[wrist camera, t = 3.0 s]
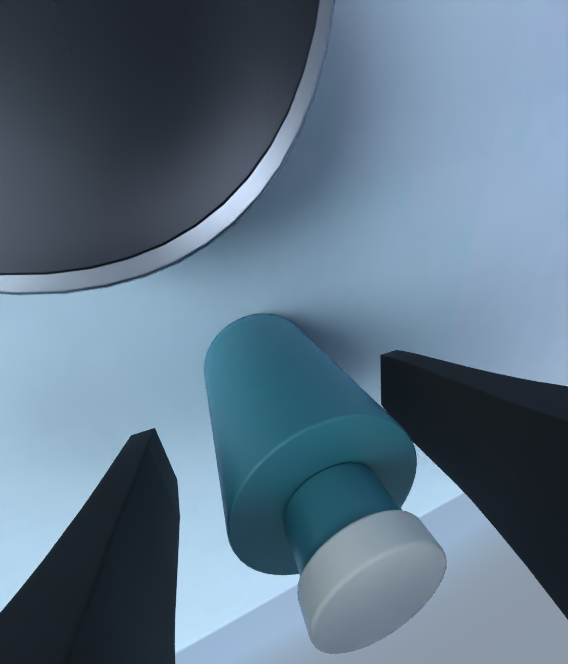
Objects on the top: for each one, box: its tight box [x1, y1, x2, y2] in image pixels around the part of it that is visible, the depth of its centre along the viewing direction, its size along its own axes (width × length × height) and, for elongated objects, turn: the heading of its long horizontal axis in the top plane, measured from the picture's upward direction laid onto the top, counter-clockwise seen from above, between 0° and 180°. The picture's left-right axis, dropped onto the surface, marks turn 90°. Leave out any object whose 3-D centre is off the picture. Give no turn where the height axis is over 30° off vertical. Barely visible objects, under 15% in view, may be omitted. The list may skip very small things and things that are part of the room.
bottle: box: [204, 314, 447, 654], centre depth 8 cm, size 4×4×8 cm
